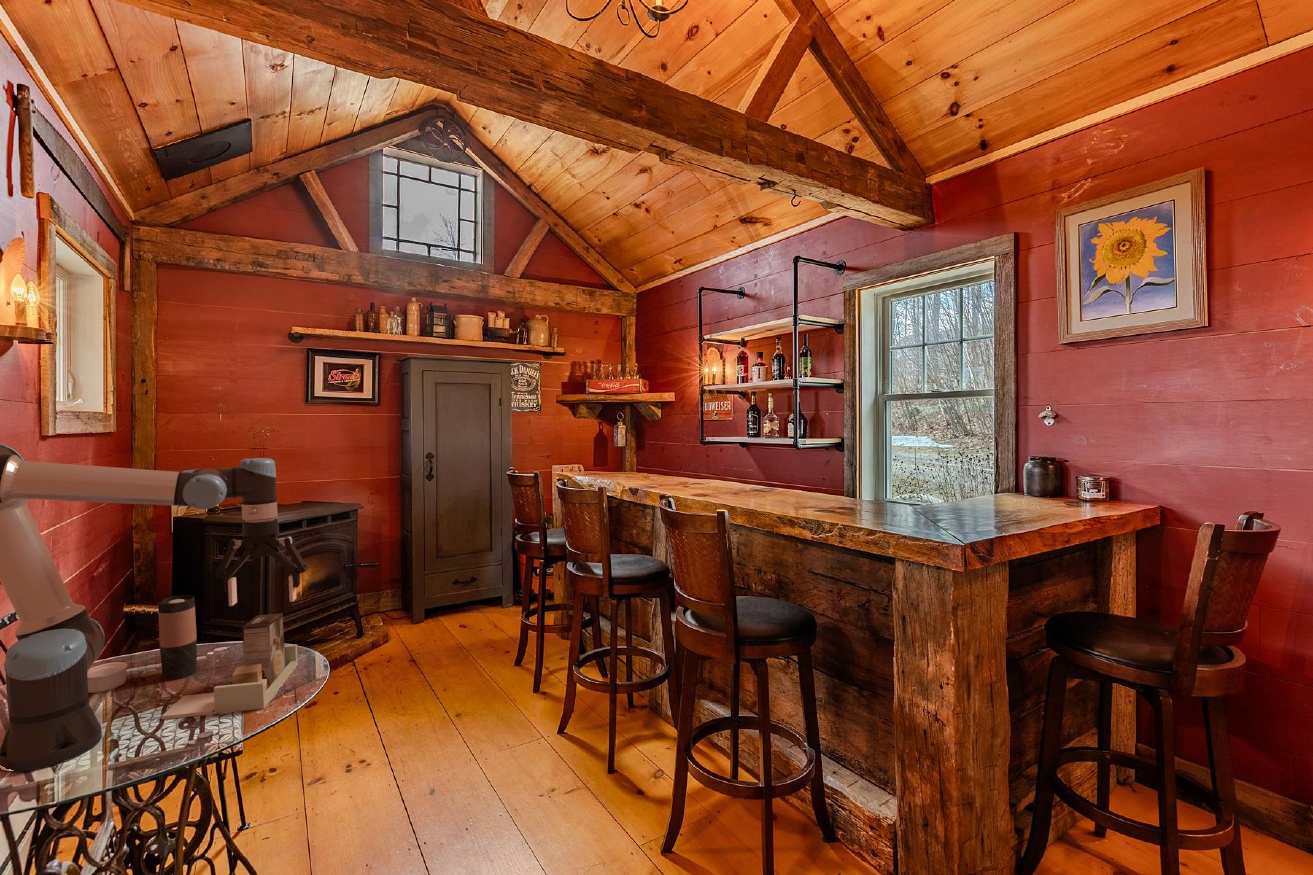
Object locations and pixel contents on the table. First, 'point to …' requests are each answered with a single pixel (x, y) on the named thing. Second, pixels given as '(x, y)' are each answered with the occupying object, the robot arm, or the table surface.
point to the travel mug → (177, 637)
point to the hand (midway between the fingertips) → (263, 602)
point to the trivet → (191, 706)
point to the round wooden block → (106, 677)
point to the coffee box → (265, 645)
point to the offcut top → (247, 674)
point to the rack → (253, 689)
